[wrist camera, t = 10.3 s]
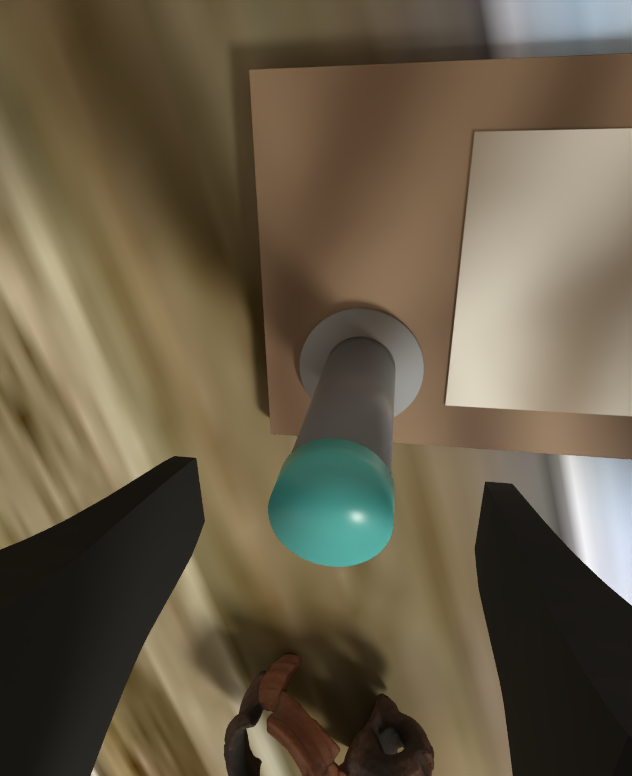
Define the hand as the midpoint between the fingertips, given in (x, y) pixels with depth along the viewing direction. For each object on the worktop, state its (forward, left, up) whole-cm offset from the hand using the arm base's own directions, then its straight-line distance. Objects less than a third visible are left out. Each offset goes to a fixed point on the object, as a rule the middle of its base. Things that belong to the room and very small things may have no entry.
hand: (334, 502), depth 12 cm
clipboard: (-5, -4, -10) cm, 12 cm away
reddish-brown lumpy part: (+1, +23, -10) cm, 25 cm away
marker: (0, 0, -8) cm, 9 cm away
